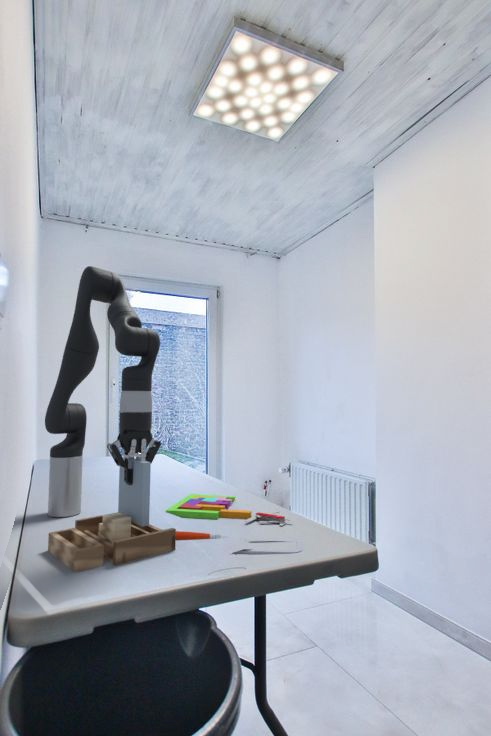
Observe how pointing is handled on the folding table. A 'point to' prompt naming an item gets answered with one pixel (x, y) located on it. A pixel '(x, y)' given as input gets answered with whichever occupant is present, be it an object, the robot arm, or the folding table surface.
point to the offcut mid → (114, 533)
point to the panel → (136, 493)
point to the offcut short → (116, 521)
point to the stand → (76, 549)
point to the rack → (130, 541)
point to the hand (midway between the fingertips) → (133, 483)
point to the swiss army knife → (269, 518)
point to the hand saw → (206, 536)
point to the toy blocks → (207, 507)
